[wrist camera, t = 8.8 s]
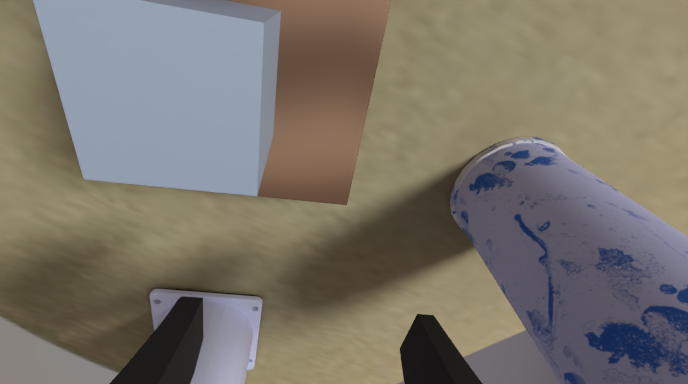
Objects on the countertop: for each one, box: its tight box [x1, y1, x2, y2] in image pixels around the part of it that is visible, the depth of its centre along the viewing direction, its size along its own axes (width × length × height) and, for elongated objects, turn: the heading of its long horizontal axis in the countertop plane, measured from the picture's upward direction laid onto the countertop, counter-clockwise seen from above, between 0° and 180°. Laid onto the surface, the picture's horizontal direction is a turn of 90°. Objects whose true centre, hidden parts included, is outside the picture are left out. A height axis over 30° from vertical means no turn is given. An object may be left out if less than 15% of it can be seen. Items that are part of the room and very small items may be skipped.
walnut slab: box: [227, 0, 391, 205], centre depth 15 cm, size 12×12×4 cm
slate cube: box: [33, 0, 281, 196], centre depth 11 cm, size 5×5×5 cm
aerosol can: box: [450, 137, 688, 384], centre depth 13 cm, size 8×8×20 cm
